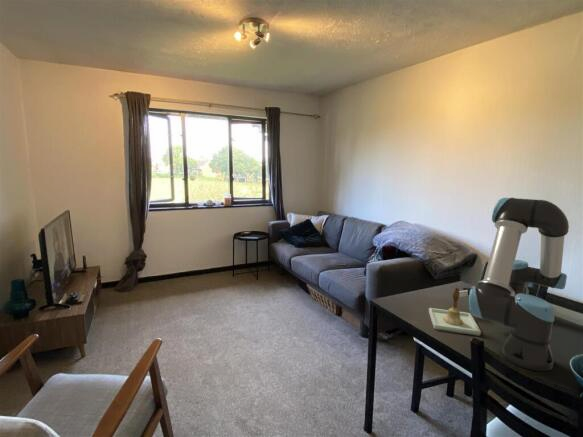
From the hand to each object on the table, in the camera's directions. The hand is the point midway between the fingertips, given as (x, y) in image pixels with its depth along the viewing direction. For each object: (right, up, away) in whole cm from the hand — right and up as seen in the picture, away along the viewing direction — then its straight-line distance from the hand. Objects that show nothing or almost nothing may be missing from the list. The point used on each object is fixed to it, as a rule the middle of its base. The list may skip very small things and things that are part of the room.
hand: (469, 300), depth 147 cm
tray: (-9, -10, -2) cm, 13 cm away
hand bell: (-9, -9, -2) cm, 13 cm away
